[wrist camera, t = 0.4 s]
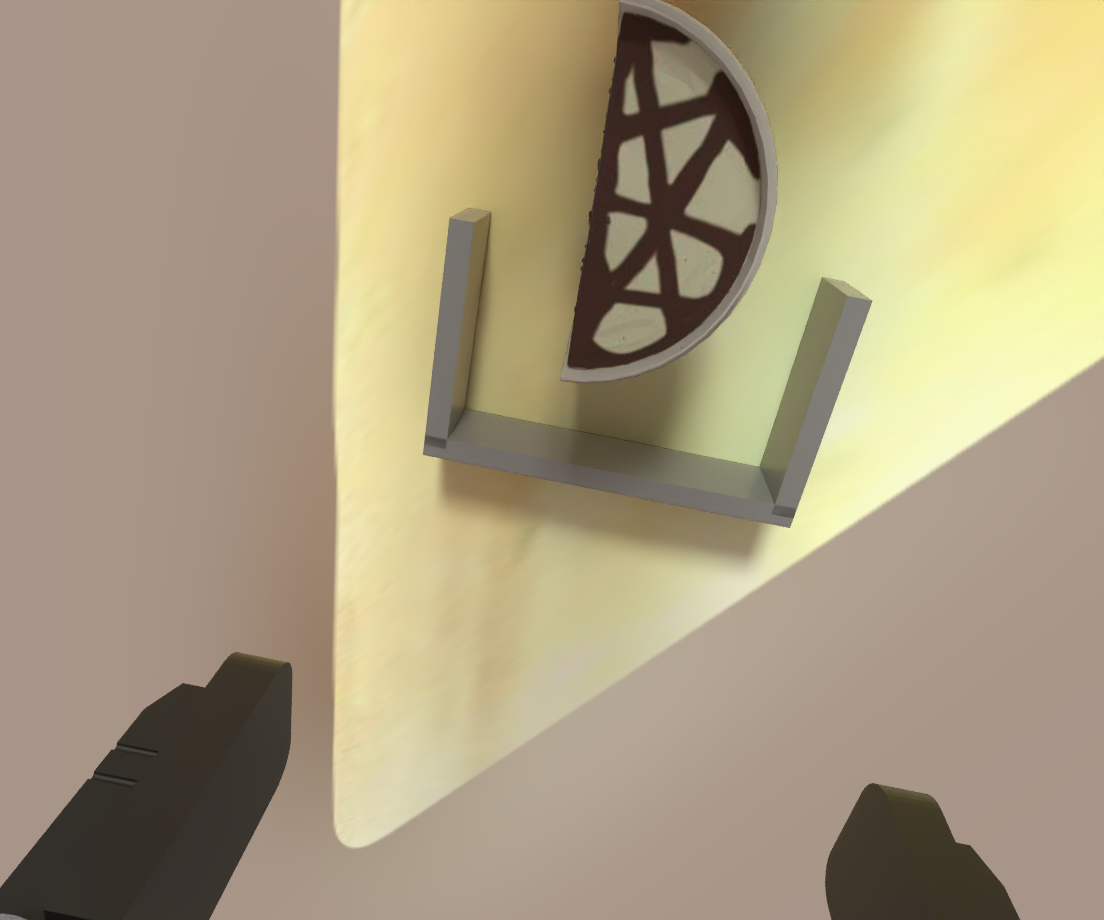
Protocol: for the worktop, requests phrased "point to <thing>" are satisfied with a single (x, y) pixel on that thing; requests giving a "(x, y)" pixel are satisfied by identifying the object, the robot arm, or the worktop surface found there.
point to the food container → (671, 198)
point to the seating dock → (623, 462)
